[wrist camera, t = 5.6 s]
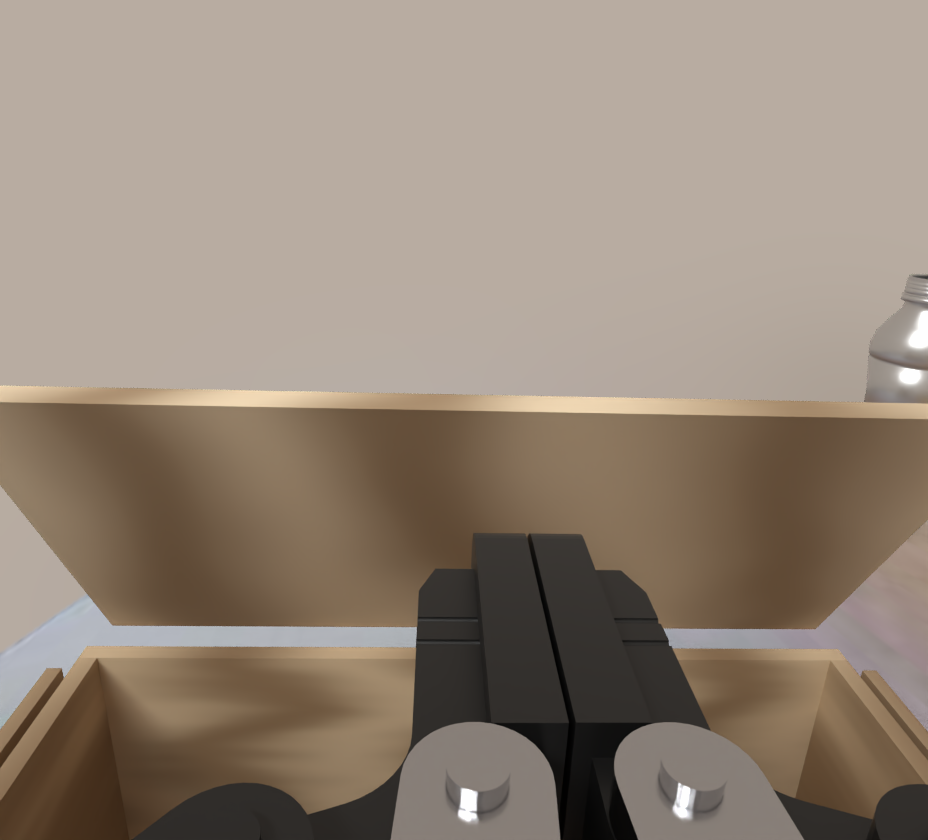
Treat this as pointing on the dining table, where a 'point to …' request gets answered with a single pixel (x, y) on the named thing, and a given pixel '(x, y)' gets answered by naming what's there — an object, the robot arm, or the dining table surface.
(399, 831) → the robot arm
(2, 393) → the front flap
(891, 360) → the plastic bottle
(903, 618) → the dining table surface
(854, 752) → the light wooden open box
